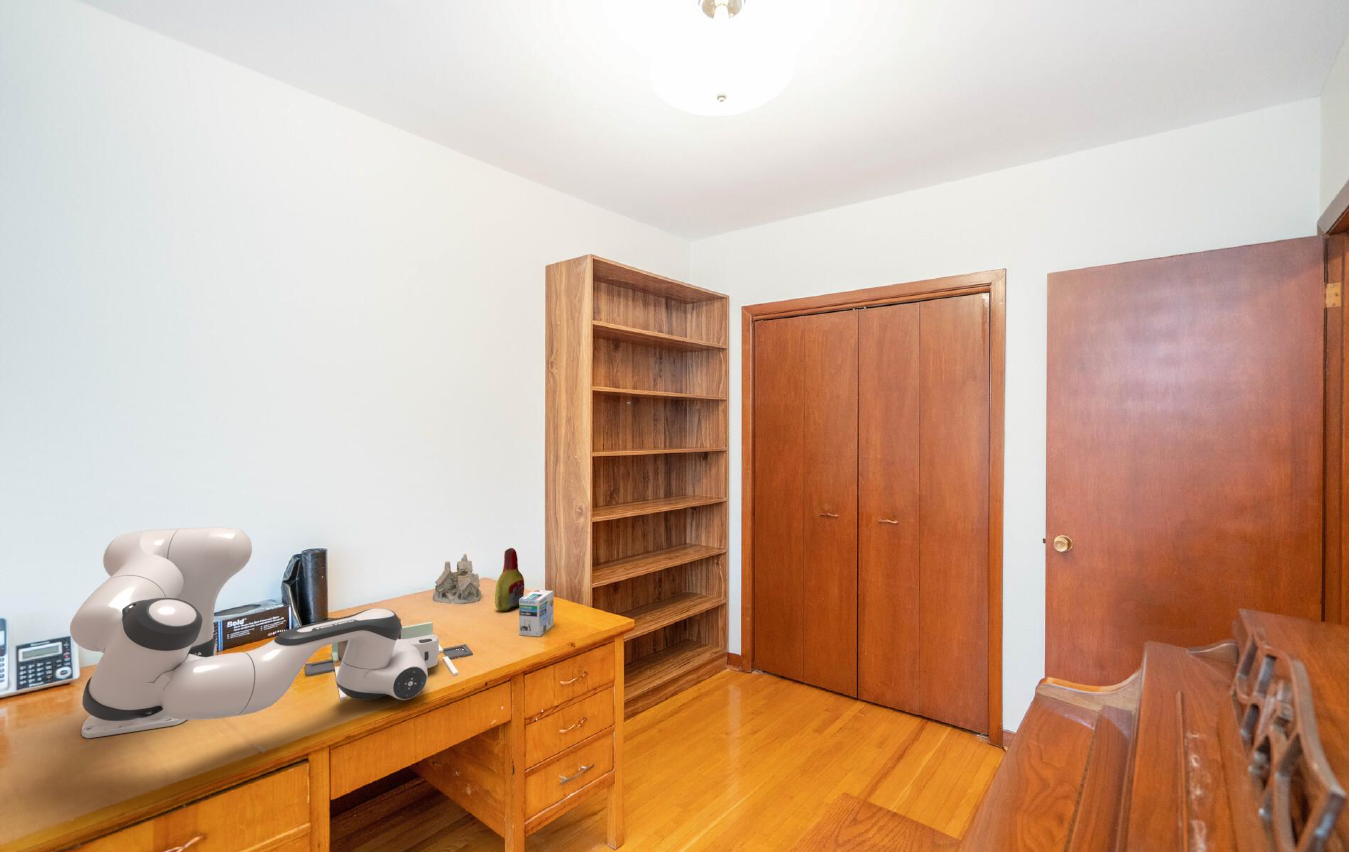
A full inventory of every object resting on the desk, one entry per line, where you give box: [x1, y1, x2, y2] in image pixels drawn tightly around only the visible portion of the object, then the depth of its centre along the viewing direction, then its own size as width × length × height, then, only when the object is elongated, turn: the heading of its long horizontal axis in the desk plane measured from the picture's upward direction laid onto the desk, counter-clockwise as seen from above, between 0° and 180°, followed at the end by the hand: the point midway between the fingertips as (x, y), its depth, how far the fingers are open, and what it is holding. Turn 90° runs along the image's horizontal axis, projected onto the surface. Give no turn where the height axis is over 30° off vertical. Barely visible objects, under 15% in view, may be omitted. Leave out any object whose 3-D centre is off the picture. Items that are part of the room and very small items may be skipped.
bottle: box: [494, 547, 525, 612], centre depth 199 cm, size 12×6×20 cm, turn 150°
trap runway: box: [304, 621, 474, 701], centre depth 153 cm, size 38×32×4 cm
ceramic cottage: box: [432, 553, 482, 605], centre depth 210 cm, size 16×16×15 cm
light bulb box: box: [518, 589, 555, 638], centre depth 178 cm, size 11×7×11 cm, turn 168°
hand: (392, 641), depth 155 cm, fingers closed
